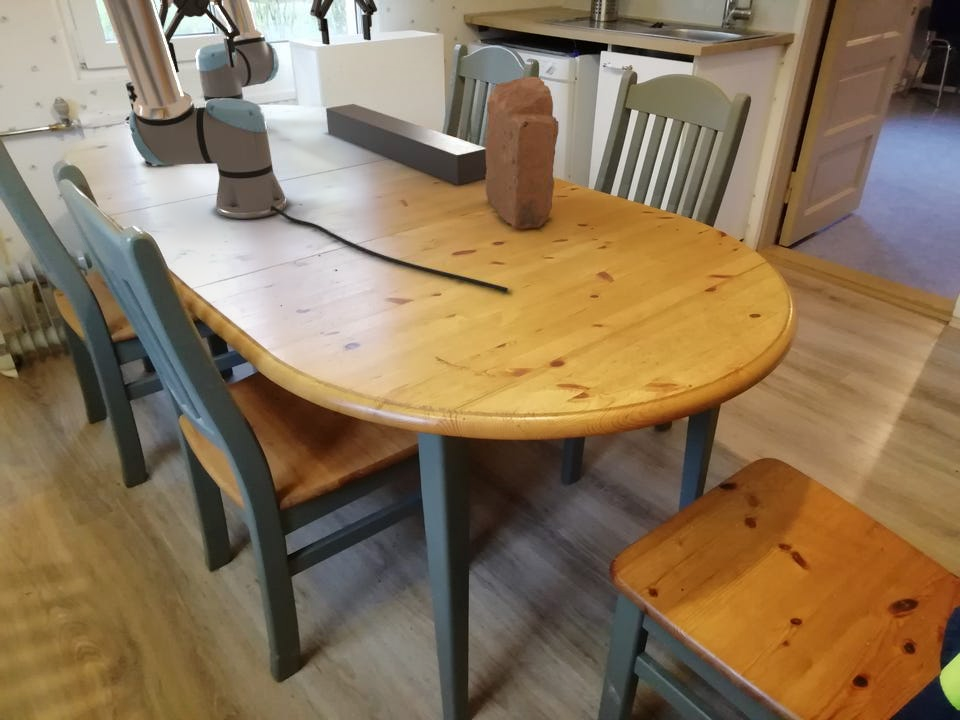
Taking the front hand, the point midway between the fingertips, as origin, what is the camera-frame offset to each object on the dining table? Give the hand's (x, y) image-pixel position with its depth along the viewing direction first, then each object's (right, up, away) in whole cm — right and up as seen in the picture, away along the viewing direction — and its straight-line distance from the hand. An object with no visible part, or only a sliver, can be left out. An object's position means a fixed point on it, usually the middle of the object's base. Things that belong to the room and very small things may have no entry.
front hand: (204, 69), depth 174 cm
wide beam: (+47, -15, +22) cm, 54 cm away
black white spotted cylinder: (-16, -11, +7) cm, 21 cm away
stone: (+79, -40, -17) cm, 90 cm away
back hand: (+32, +17, +23) cm, 43 cm away
